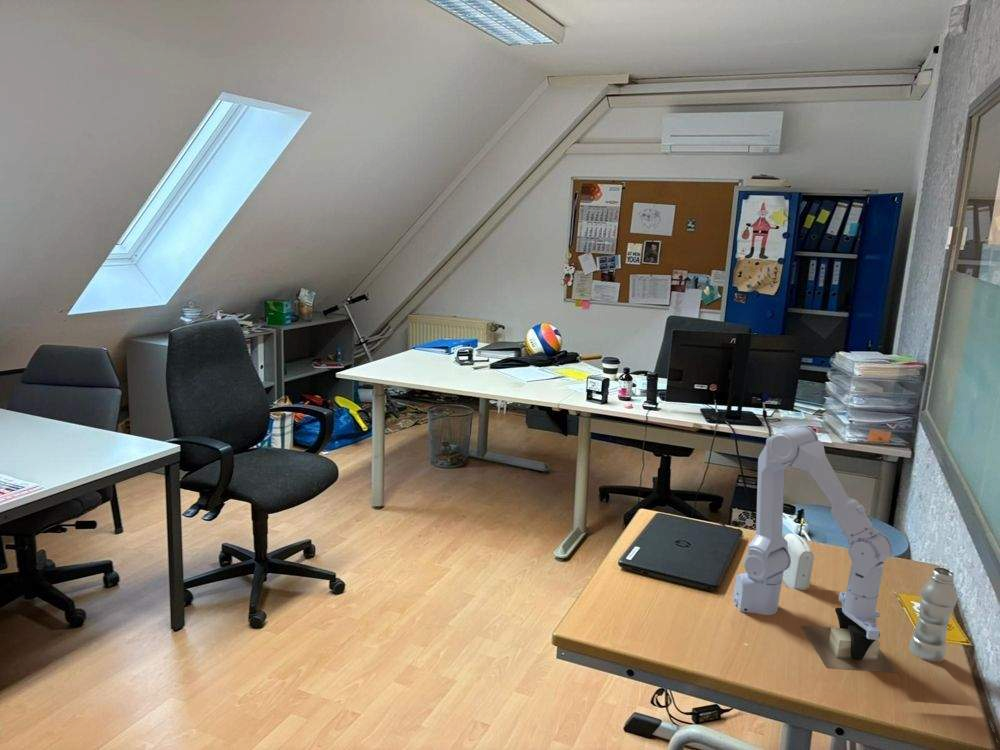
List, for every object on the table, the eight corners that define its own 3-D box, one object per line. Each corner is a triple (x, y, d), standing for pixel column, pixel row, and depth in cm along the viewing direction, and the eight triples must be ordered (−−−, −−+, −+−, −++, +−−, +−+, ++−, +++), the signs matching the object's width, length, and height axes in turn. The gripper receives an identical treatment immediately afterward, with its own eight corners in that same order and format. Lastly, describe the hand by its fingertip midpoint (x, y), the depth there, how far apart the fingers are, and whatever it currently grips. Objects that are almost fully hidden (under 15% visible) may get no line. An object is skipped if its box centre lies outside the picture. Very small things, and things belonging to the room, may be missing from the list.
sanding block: (836, 657, 151) (839, 640, 150) (828, 644, 156) (831, 627, 155) (876, 660, 151) (880, 643, 150) (867, 647, 156) (870, 630, 155)
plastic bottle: (900, 653, 157) (917, 566, 152) (922, 646, 160) (940, 561, 155) (927, 671, 151) (947, 581, 146) (950, 664, 154) (970, 576, 149)
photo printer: (810, 595, 178) (818, 548, 175) (792, 595, 178) (800, 548, 175) (791, 574, 188) (799, 529, 185) (775, 573, 188) (782, 528, 185)
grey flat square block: (825, 674, 148) (826, 667, 148) (799, 631, 163) (800, 625, 162) (896, 679, 148) (898, 673, 148) (864, 636, 162) (865, 630, 162)
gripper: (899, 612, 143) (887, 674, 146) (867, 574, 157) (856, 632, 160) (862, 609, 143) (851, 671, 146) (833, 572, 157) (823, 629, 161)
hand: (851, 650), depth 153 cm, fingers closed on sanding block, 4 cm apart
